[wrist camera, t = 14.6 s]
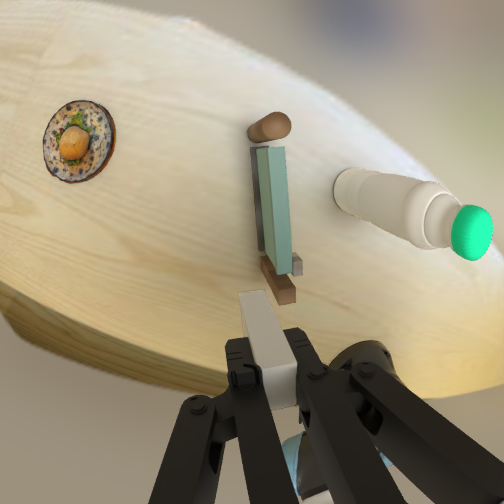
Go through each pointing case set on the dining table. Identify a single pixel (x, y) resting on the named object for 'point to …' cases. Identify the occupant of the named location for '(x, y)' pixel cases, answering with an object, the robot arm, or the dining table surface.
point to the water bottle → (415, 211)
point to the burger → (79, 141)
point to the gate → (275, 207)
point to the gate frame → (259, 132)
